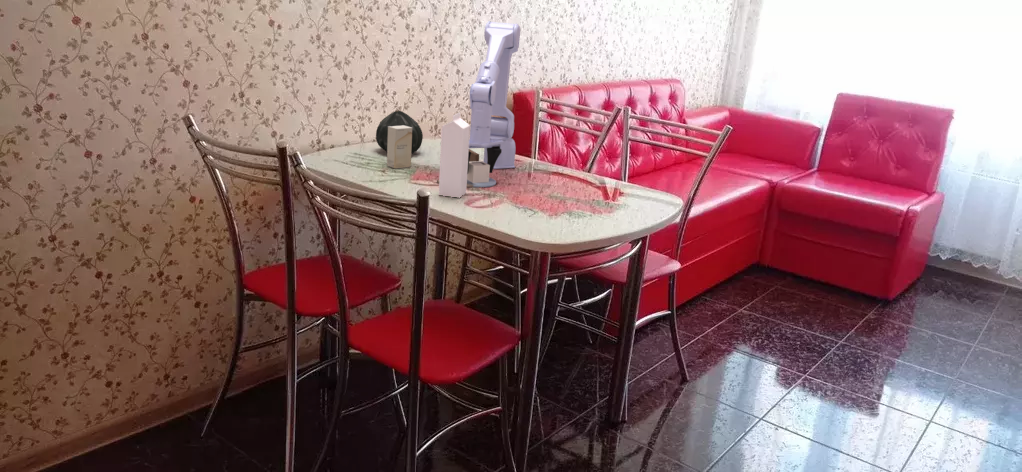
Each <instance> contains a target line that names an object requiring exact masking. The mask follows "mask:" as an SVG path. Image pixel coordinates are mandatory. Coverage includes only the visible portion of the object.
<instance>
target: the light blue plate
mask: <svg viewBox="0 0 1022 472" xmlns="http://www.w3.org/2000/svg"><path fill="white" fill-rule="evenodd" d="M468 181H469V180H467V183H468V184H474V185H473V187H472V188H479V187H481V189H482V187H483V189H484V187H485V188H491V187H495V186H496V185H497V180H495V179H494V178H492V177H489V182H483V183H472V182H471V183H470V181H469V182H468ZM494 185H495V186H494Z"/></svg>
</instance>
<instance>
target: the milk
mask: <svg viewBox="0 0 1022 472" xmlns="http://www.w3.org/2000/svg"><path fill="white" fill-rule="evenodd" d="M470 126H471V124H469V123H468V122H466V121H465V120H464V119H463V118H461V112H460V111H459V112H457V113H455V114H453V115H452V121H449V122H447V123H446V124H443V125H441V131H440V132H441V135H440V136H441V137H440V154H439V155H440V159H439V160H440V161H439V176H438V177H439V179H438V180H439V183H438V196H439V195H443V196H442V197H445V196H451V197H450V198H452V197H459V198H458V199H461V198H462V197H463V196H465V195H466V194H467V188H466V187H467V170H468V153H469V149H470V148H469V140H470ZM465 193H466V194H465ZM462 195H463V196H462ZM461 196H462V197H461ZM460 197H461V198H460Z"/></svg>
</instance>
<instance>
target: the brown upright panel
mask: <svg viewBox="0 0 1022 472" xmlns="http://www.w3.org/2000/svg"><path fill="white" fill-rule="evenodd" d="M469 151H470V152H471V156H470V160H469V162H474V161H480V153H478V152H476V151H474V150H472V149H471V148H469Z"/></svg>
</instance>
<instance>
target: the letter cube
mask: <svg viewBox="0 0 1022 472" xmlns="http://www.w3.org/2000/svg"><path fill="white" fill-rule="evenodd" d="M483 161H484V160H479V161H474V162H469V172H468V174H467V180H469V181H470V182H472V183H483V182H489V178H490V173H489V171H490V165H488V164H487V163H485V162H483Z"/></svg>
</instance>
